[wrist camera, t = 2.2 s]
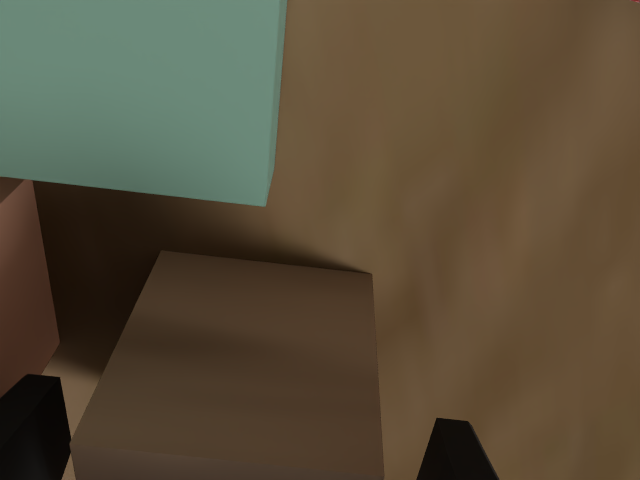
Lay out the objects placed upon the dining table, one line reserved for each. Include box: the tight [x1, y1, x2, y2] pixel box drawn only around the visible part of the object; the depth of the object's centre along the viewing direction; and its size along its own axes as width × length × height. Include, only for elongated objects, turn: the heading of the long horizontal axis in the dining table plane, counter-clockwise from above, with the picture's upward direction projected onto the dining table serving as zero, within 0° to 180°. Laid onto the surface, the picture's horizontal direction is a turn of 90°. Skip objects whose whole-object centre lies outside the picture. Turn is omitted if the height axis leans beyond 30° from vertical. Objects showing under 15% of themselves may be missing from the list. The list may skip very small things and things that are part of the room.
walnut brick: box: [70, 250, 384, 480], centre depth 12 cm, size 4×4×5 cm
